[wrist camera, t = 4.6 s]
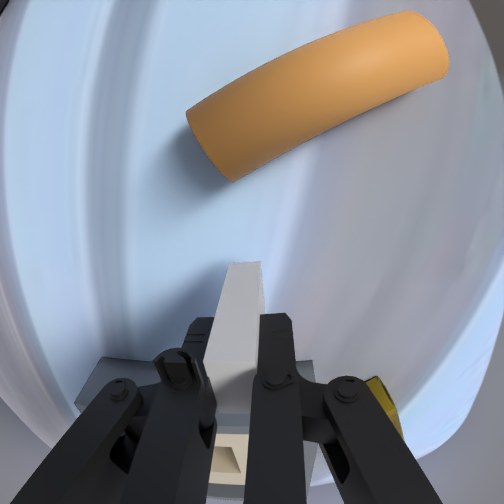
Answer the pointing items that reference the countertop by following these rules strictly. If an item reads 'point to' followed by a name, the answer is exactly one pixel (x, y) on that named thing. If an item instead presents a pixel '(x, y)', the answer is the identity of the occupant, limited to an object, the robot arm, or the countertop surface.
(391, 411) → the medication box
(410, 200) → the countertop surface
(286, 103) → the peg
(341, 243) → the countertop surface
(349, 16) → the countertop surface
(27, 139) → the countertop surface
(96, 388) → the box
